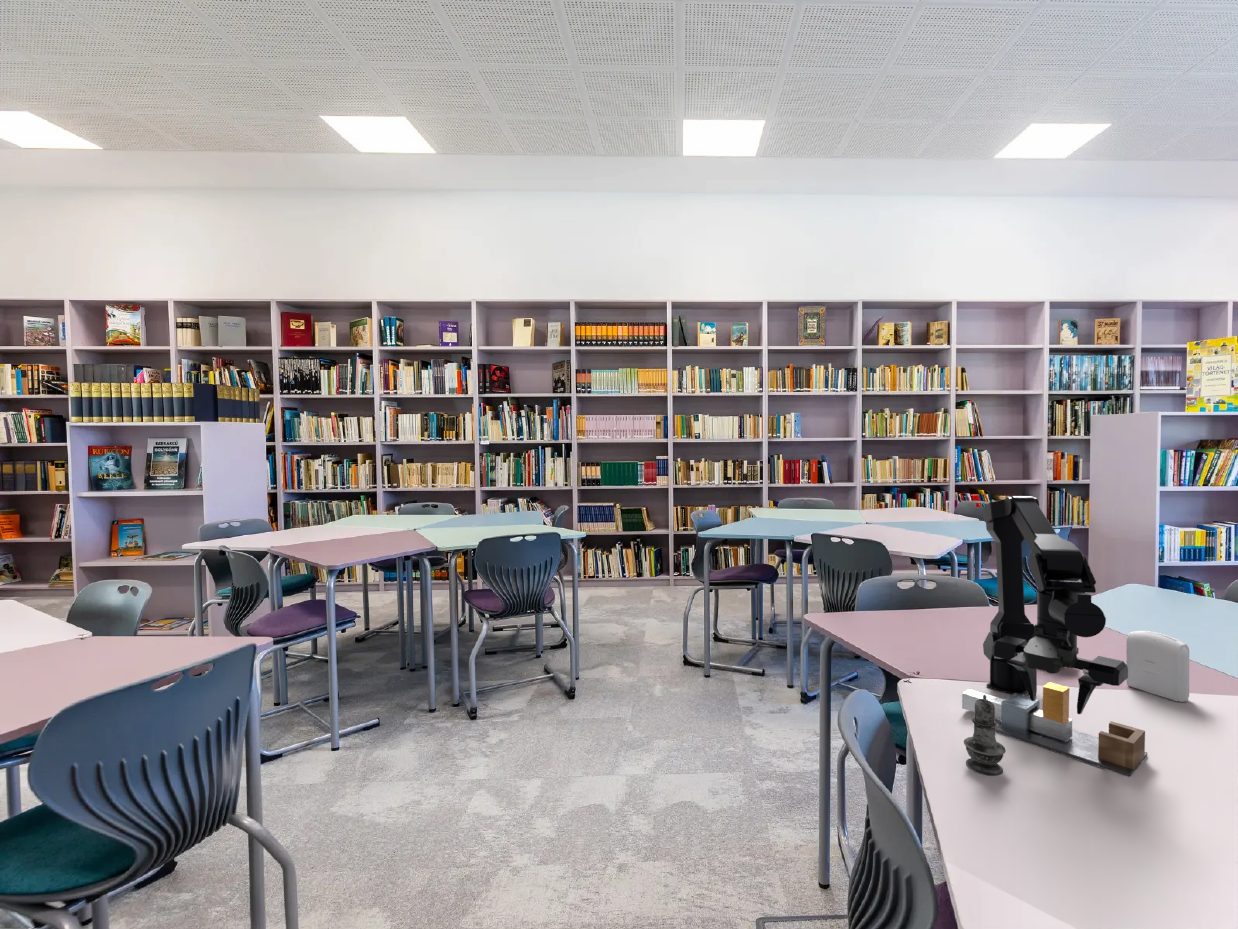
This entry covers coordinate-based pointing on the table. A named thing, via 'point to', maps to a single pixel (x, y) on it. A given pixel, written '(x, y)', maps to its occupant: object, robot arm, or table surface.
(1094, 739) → the long dark base plate
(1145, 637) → the photo printer
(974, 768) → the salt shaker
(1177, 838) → the table surface
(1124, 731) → the socket block
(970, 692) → the silver bar
